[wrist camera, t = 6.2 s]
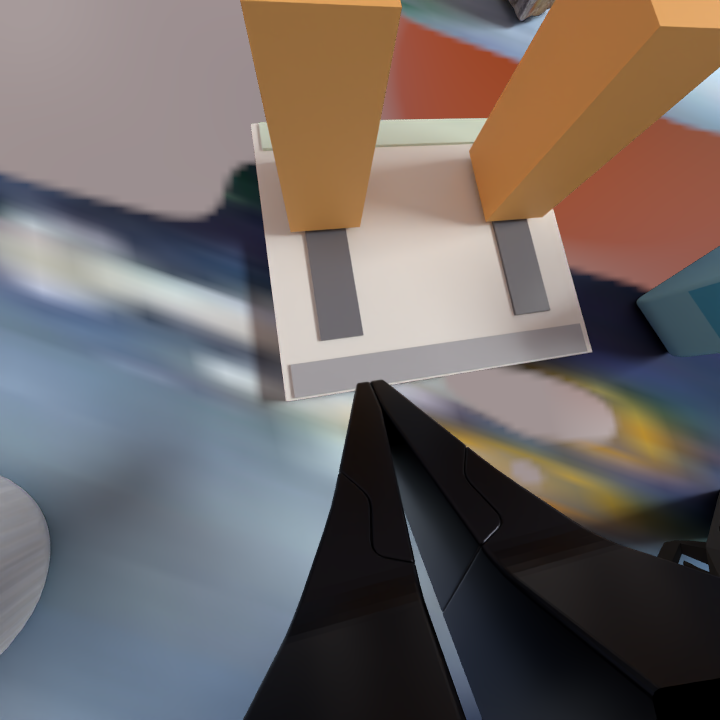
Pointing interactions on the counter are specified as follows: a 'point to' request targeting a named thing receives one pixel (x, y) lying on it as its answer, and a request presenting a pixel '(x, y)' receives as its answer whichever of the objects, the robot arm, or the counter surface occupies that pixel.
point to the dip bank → (414, 273)
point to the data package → (687, 308)
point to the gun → (698, 548)
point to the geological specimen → (530, 7)
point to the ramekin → (20, 559)
